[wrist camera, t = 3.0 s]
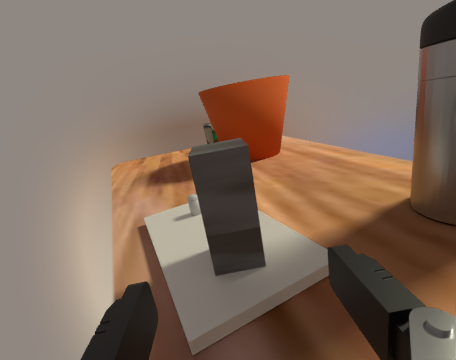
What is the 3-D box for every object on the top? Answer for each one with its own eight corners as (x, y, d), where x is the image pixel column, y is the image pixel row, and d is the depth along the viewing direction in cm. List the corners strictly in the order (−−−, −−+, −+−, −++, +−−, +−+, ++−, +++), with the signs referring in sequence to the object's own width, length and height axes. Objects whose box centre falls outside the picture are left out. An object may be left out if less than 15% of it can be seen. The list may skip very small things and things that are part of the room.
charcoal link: (214, 247, 26) (192, 146, 22) (256, 239, 26) (240, 137, 22) (215, 276, 21) (188, 156, 18) (266, 266, 21) (248, 145, 18)
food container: (232, 148, 87) (227, 121, 84) (216, 152, 85) (211, 124, 82) (221, 145, 98) (217, 121, 95) (207, 148, 97) (202, 124, 94)
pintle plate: (145, 224, 37) (138, 200, 36) (225, 197, 42) (221, 174, 41) (192, 355, 16) (177, 306, 15) (340, 268, 21) (339, 226, 20)
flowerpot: (209, 155, 82) (197, 95, 77) (278, 141, 85) (271, 82, 79) (216, 173, 59) (199, 88, 53) (311, 153, 61) (306, 70, 55)
